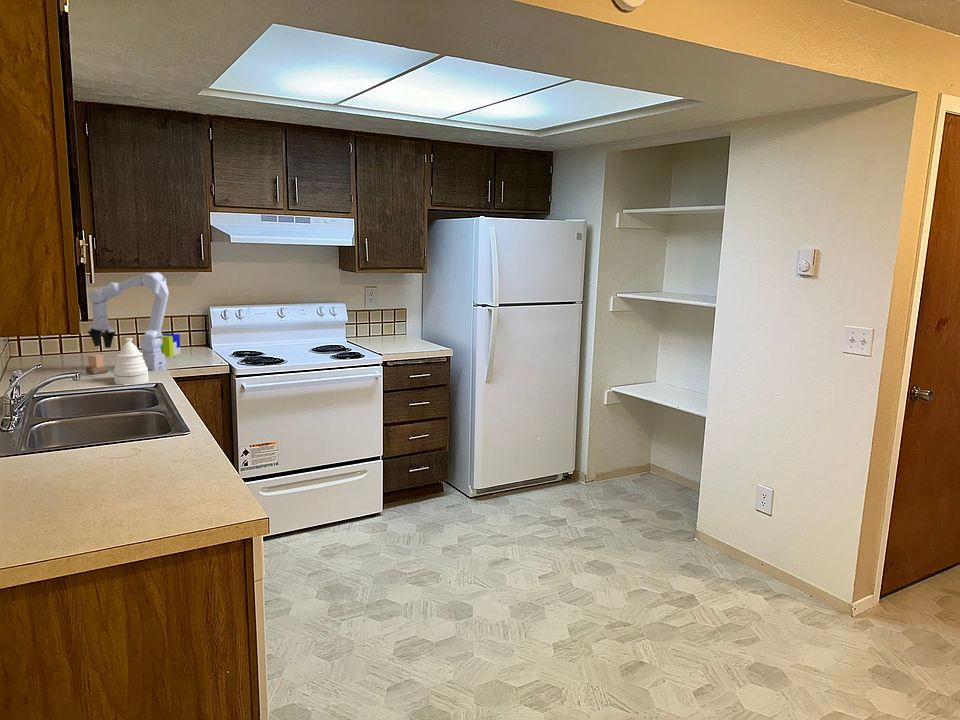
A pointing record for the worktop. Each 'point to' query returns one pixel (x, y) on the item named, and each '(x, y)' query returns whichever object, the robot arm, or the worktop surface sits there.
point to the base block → (96, 370)
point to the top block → (95, 360)
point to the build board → (110, 371)
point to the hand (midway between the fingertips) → (102, 346)
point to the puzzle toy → (170, 344)
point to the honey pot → (130, 365)
